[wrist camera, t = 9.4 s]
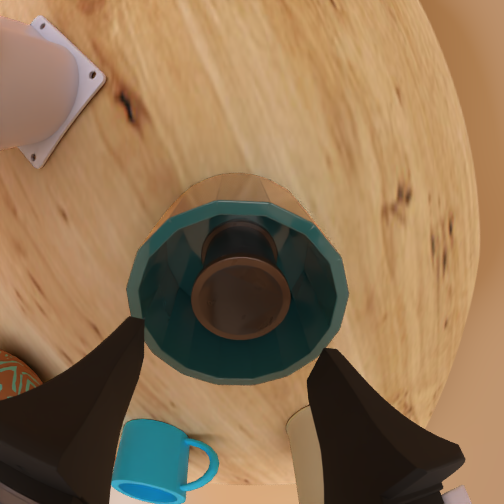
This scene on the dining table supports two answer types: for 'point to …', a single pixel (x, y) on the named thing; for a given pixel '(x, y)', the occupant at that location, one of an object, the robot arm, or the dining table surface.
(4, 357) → the decorative sphere
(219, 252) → the spool
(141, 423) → the mug
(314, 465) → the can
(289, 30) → the dining table surface
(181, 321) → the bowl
